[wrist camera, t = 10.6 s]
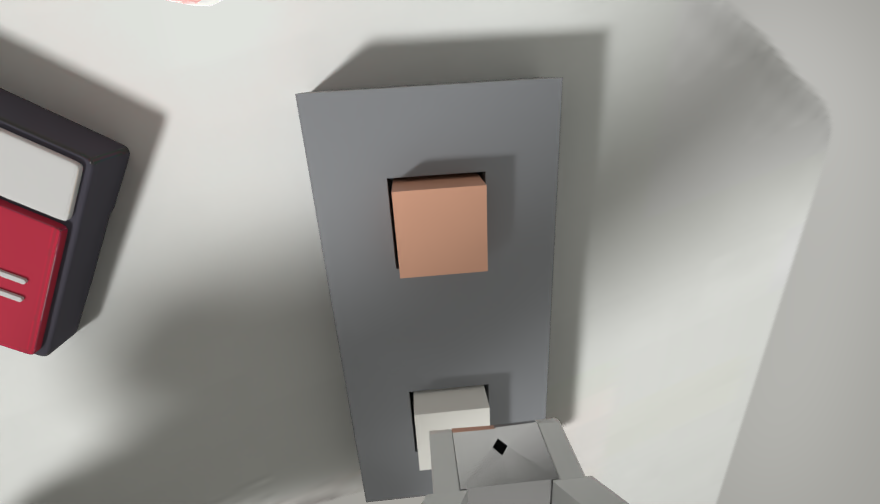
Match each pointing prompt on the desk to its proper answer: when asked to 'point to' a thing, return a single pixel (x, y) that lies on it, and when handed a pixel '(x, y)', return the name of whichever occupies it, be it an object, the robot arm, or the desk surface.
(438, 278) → the console
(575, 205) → the desk surface
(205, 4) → the beverage cup
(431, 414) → the key white
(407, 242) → the key terracotta
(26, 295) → the calculator
